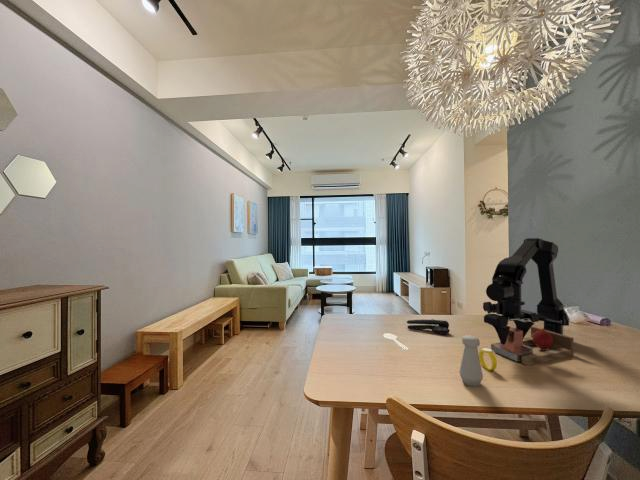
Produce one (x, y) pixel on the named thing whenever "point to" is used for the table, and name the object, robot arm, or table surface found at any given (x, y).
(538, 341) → the onion
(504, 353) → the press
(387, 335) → the spoon
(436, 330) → the can opener
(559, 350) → the bench
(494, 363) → the watch
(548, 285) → the robot arm
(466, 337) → the salt shaker
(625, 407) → the table surface
